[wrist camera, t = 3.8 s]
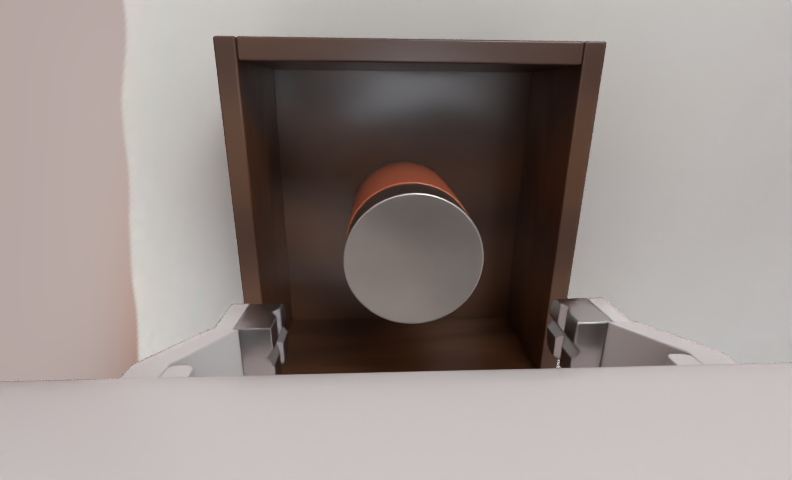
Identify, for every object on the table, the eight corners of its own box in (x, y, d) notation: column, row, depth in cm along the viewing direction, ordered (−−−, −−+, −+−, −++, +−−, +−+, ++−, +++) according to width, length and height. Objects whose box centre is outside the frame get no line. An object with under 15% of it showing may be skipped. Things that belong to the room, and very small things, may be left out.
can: (403, 137, 24) (416, 159, 15) (469, 206, 25) (514, 261, 17) (334, 206, 25) (311, 262, 17) (401, 268, 27) (411, 350, 18)
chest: (259, 52, 23) (211, 35, 17) (544, 56, 24) (607, 41, 17) (282, 324, 29) (254, 392, 22) (514, 321, 29) (553, 387, 23)
